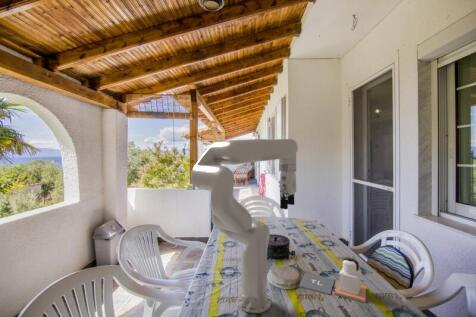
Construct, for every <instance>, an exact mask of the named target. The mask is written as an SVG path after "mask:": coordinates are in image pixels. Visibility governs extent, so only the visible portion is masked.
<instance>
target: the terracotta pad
mask: <svg viewBox="0 0 476 317" xmlns="http://www.w3.org/2000/svg"><path fill="white" fill-rule="evenodd" d="M334 295H335V296H339V297H343V298H345V299H351V300H353V301H356V302H362V303H366V301H367V300H366V298H367V297H366V296H367V286H366V285H363V284H361V290H360V292H359V294H358V295H354V294H351V293H348V292H345V291H342V290H339V279H337V282H336V286H335V289H334Z"/></svg>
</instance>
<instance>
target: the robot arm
mask: <svg viewBox="0 0 476 317" xmlns="http://www.w3.org/2000/svg"><path fill="white" fill-rule="evenodd" d="M298 148H299V147H298V143H297V142H296V140H294V139H292V138H277V139H266V138H265V139H264V138H255V139H252V138H251V139H234V140H233V139H232V140H219V141H215V142H213V143H212V144H211V145H210V146H209V147H208V148H207V149H206V151H205V152H204V153H203V154H202V156H201V157H200V158H199V160H198V161H197V162H196V163H195V164H194V166H193V168H192V169H191V171H190V176H189V177H190V182H191V184H192V185H193V187H195V188H197V189H199V190H204V191H209V192H211V196H210V211H211V217H210V218H211V222H212V224H213V225H214V226H215V228H217V229H218V231H220V232H222V234H224V235H225V236H227V237H228V238H229V239H231V240H233V241H235V242H238V243H239V242H240V243H242V244H244V245H246V247H245V250H243V252H242V255H241V294H240V295H239V296H238V298H237V304H238V305H237V310H238V311H240V312H242V311H244V312H246V313H249V314H250V313H251V314H261V313H265V312H266V311H268V310H269V309H271V305H272V299H271V297H270V296H269V295H268V246H269V241H270V229H269V227H268V225H267V224H266V223H264V222H262V221H260V220H256V219H253V218H252V215H251V213H250V212H249V211H248V210H247V209H246V208H245V206H243V205H242V204H241V203H240V202H239V201H238V200H236V198H235V197H234V187H235V178H234V177H235V176H234V173H233V172H232V170H231V169H230V168H229V167H226V166H225V165H232V166H233V165H243V164H249V163H256V162H266V161H267V162H268V161H276V160H278V171H279V173H280V174H279V196H280V197H279V202H280V207H279V208H280V210H288V208H289V205H290V206H294V205H295V193H297V177H296V172H297V152H298V151H299V150H298Z"/></svg>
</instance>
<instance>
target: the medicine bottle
mask: <svg viewBox="0 0 476 317" xmlns="http://www.w3.org/2000/svg"><path fill="white" fill-rule="evenodd" d="M359 263H360V262H358V261H357V260H356V259H353V258H350V257H348V258H347V257H346V258H343V259H342V264H341V265H342V266H341V267H342V268H341V270H340V271H339V272H338V280H339V290H342V291H345V292H348V293H351V294H354V295H358V294H359V292H360V290H361V285H362V270H360V268H359V266H360V265H359Z"/></svg>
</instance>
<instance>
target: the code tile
mask: <svg viewBox="0 0 476 317" xmlns="http://www.w3.org/2000/svg"><path fill="white" fill-rule="evenodd" d="M299 283H300V285H299V284H298V285H299V286H298V287H299V288H303V289H306V290H310V291H314V292H318V293H322V294H326V295H329V296H330V295H331V294H332V290H333V288H332V287H334V283H335V279H334V278H331V277H326V276H321V275H318V274H313V273H310V272H305V273H304V274H303V276H302V278H301V279H300V281H299Z"/></svg>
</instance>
